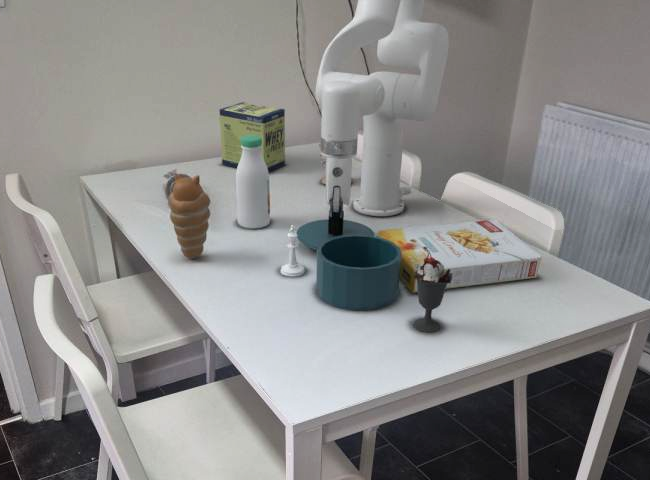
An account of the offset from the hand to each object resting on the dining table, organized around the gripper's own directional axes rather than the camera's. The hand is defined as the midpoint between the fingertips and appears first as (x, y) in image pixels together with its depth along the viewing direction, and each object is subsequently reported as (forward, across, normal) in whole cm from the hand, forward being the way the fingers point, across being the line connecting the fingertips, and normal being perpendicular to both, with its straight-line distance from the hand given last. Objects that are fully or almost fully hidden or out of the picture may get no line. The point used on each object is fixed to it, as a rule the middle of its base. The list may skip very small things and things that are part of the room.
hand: (335, 230), depth 157 cm
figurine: (+3, +43, +1) cm, 43 cm away
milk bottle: (+4, +12, +20) cm, 23 cm away
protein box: (+3, +56, +25) cm, 61 cm away
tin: (+4, -22, -5) cm, 23 cm away
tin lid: (+1, 0, 0) cm, 1 cm away
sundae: (+4, -34, -18) cm, 39 cm away
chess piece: (+4, -14, +8) cm, 17 cm away
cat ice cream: (+4, -9, +30) cm, 32 cm away
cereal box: (+4, -8, -26) cm, 27 cm away
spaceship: (+4, +22, +39) cm, 45 cm away
